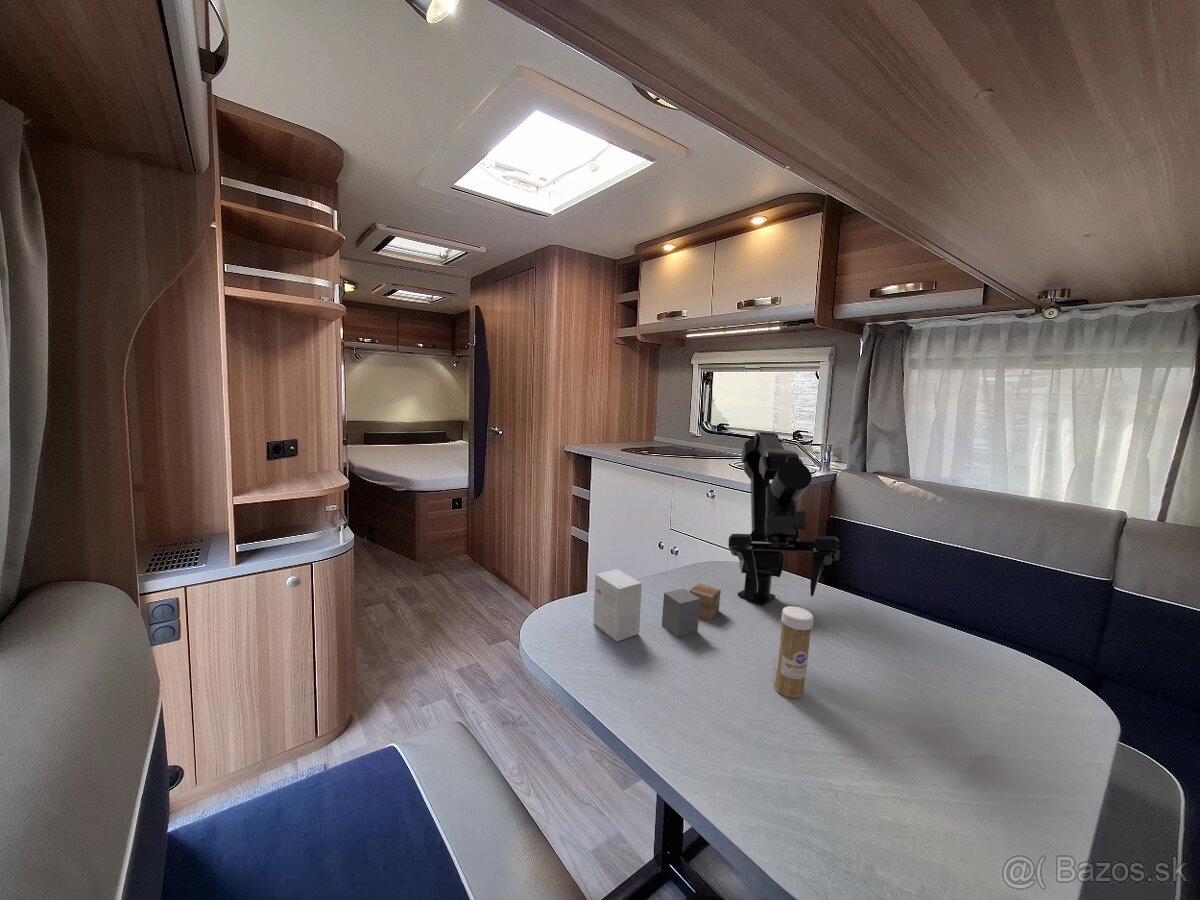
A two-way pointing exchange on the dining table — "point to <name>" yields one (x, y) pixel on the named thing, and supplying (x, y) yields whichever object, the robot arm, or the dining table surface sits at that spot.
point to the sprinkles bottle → (793, 651)
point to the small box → (617, 604)
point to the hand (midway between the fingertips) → (783, 593)
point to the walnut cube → (707, 599)
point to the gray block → (680, 612)
